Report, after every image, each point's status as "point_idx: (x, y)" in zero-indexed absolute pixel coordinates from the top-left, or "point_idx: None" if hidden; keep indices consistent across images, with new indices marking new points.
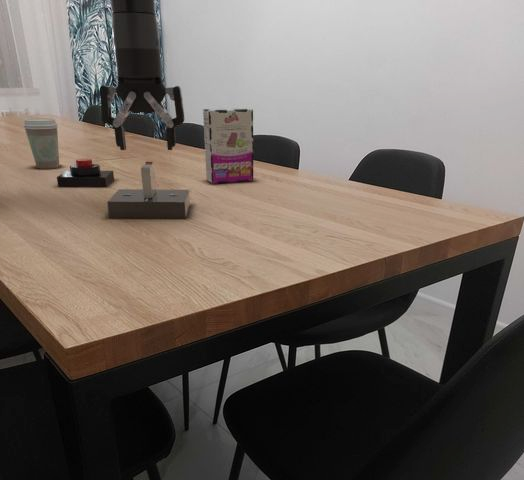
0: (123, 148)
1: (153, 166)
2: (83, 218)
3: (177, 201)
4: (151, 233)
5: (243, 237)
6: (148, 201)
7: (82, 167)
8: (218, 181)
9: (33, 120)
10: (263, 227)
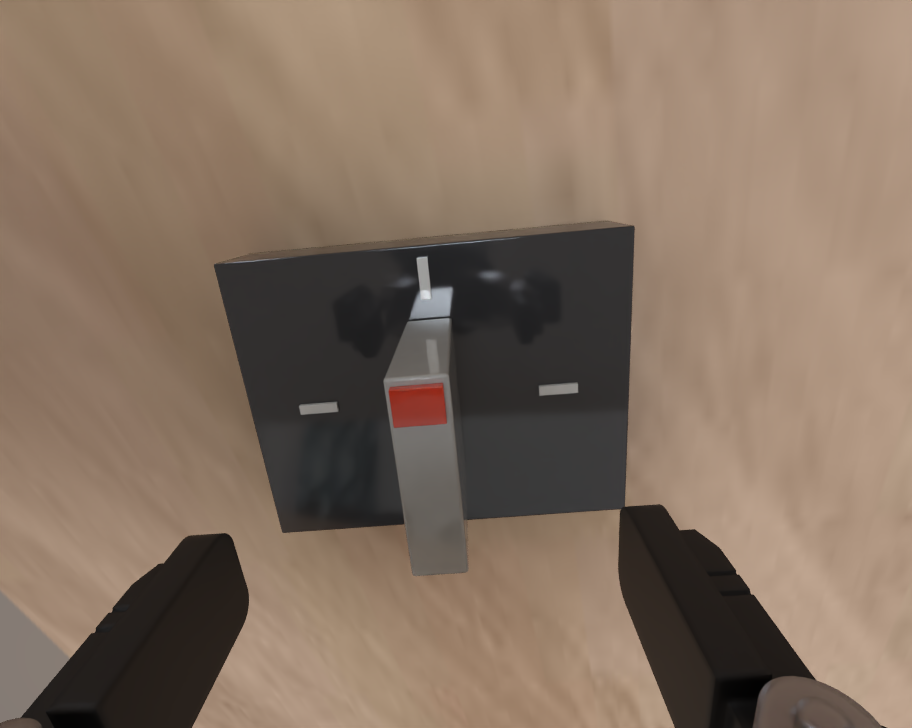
0: (241, 617)
1: (453, 409)
2: (208, 498)
3: (591, 502)
4: (507, 632)
5: (796, 646)
6: None
7: None
8: None
9: None
10: (891, 549)
